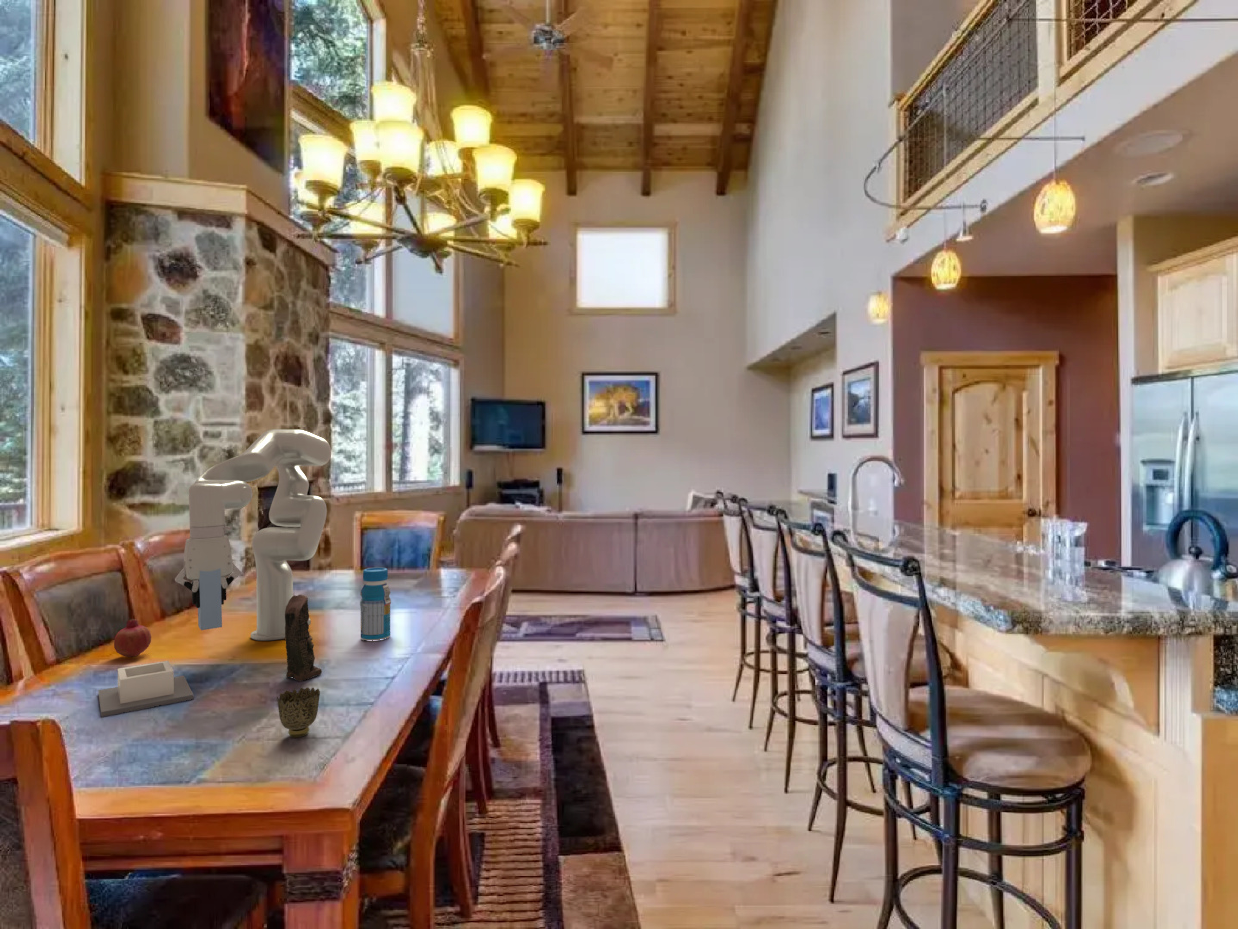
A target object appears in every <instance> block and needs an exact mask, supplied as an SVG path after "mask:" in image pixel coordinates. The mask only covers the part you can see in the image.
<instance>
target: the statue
mask: <svg viewBox="0 0 1238 929" xmlns="http://www.w3.org/2000/svg"><path fill="white" fill-rule="evenodd" d="M308 600H309V598H308V596H306V595H305V594H303V595H302V594H298V595H294V594H293V596H292V598H291V599H290V600H289V602H288V604H287V606H286V610H285V638H284V641H285V650H286V663H287V666H286V667H287V668H286V670H287V671H286V675H285V677H286V678H287V677H293V678H295V679H296V680H295V679H294V680H295V681H297V680H298V681H297V682H303V680H304V681H307V680H309V679H308V678H310V679H312V678H314V677H313V676H315V677H317V676H316V675H318V676H319V675H322V672H323V669H322V668H320V667H317V666H315V665H314V663H315V659H316V656H315V653H314V652H315V651H314V646H315V644H314V642H313V640H314V639H313V637H312V636H311V634H310V631H309V628H310V625H309V624H308V620H309V618H310V613H309V611H310V610H309V604H308V603H309V602H308ZM311 677H312V678H311ZM293 678H292V679H293ZM306 679H307V680H306Z"/></svg>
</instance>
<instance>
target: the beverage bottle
mask: <svg viewBox="0 0 1238 929" xmlns="http://www.w3.org/2000/svg"><path fill="white" fill-rule="evenodd" d="M388 575H389V571H388V568H386V567H368V568H365V569H363V571H362V580H363V582H364V584H363V586H362V588H361V590H360V596H361V598H360V600H359V606H360V609H359V610H360V639H361V640H362V639H363V640H362V641H364V640H372V641H371V642H374V641H373V640H380V639H385V638H387V639H389V638H390V637H391V604H392V598H391V597H390V595H391V588H390V587H389V584H387V582H386V581H388V579H389V576H388ZM385 640H386V639H385Z"/></svg>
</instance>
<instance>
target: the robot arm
mask: <svg viewBox="0 0 1238 929" xmlns="http://www.w3.org/2000/svg"><path fill="white" fill-rule="evenodd" d="M331 456H332V448H331V445H330V444H329V442H328V441H327V440H326V439H325V438H323V437H320V436H318V435H316V434H313V433H311V432H309V431H306V430H303V429H288V428H287V429H279V428H278V429H277V428H276V429H275V428H274V429H268V430H266V431H264V432H263V433H261V434H260V435H259V437H257V439H256V440H254V441H253V443H252V444H250V446H249V447H247V448H246V450H244V451H243V453H241V454H239V455H237V456H233V457H231V458H229V459H226V460H224V461H222V462H220V463H217V464H215V465H213V466H212V467H209V468H208V469H207V470H205V471H204V472H203V473H202V474H201V475H200V476H199V477H198V478H197V479H196V480H195V482H193V483H192V484H191V485H190V486H189V488H188V510H189V511H188V512H189V538H187V539H186V540H185V543H184V551H183V568H182V569H181V570H180V571H179V573H178V574H177V575H176V577H175V578H174V581H175V582H176V583H177V584H179V585H182V586H183V587H185V588H187V589H188V590H189V591H190V592H191V601H192V605H195V607H196V609H198V608H199V607H200V592H199V589H198V586H199V579H200V571H214V570H217V569H220V568H221V605H222V606H223V605H224V604H225V601H227V588H228V587H229V585H230V584H232V582H234V581H235V579H237V578H239V577H240V575H242V571H241V570H240V569H239V568H238V567H237V566H236V565H235V564H234V563H233V557H232V556H233V554H232V548H231V544H230V539H229V535H226V534H227V533H229V532H232V531H233V529H232V526H229V525H226V520H225V519H226V517H225V516H226V514H225V510H238V509H242V508H244V507H247V506H248V505H249V504H250V503H251V501H252V498H253V489H252V487H251V486H250V484H248V482H253V481H256V480H259V479H262V478H265V477H266V476H268V475H269V474H270V473H271V472H272V470H274V468H275V467H276V469H277V473H278V484H277V488H276V491H275V493H274V496H273V499H272V502H271V505H270V508H269V512H268V519H269V521H270V522H271V524H273V525H275V526H277V527H275V526H273V527H272V526H271V527H265V528H261V529H260V530H258V531H257V532H255V534H254V536H253V538H252V541H251V542H252V544H251V546H252V554H253V557H254V561H255V571H256V629H255V630H254V631H252V632H251V633H250V638H251V639H252V640H253V641H254V640H255V641H277V640H285V610H286V606H287V604H288V602H289V600H290V599H291V598H292V596H294V576H293V575H294V574H293V571H292V568H291V566H290V565H289V563H288V562H287V561H308V560H310V559H312V558H313V557H314V556H315V554H316V553H317V550H318V548H319V547H318V546H319V544H320V540H321V538H322V537H321V536H322V534H323V530H324V527H325V523H326V519H327V514H328V509H327V505H326V502H325V500H324V499H323V498H322V497H320V496H318V495H309V494H308V492H309V487H310V482H309V480H308V478H307V476H306V475H305V474H306V473H304V472H303V470H302V469H301V467H322V466H324V465H326V464H328V462H329V461H330V460H331ZM184 577H186V579H187V580H186V579H184ZM189 580H190V581H191V582H190V581H189ZM311 622H312V621H311V618H310V617H309V620H308V624H309V626H310V625H311Z"/></svg>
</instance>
